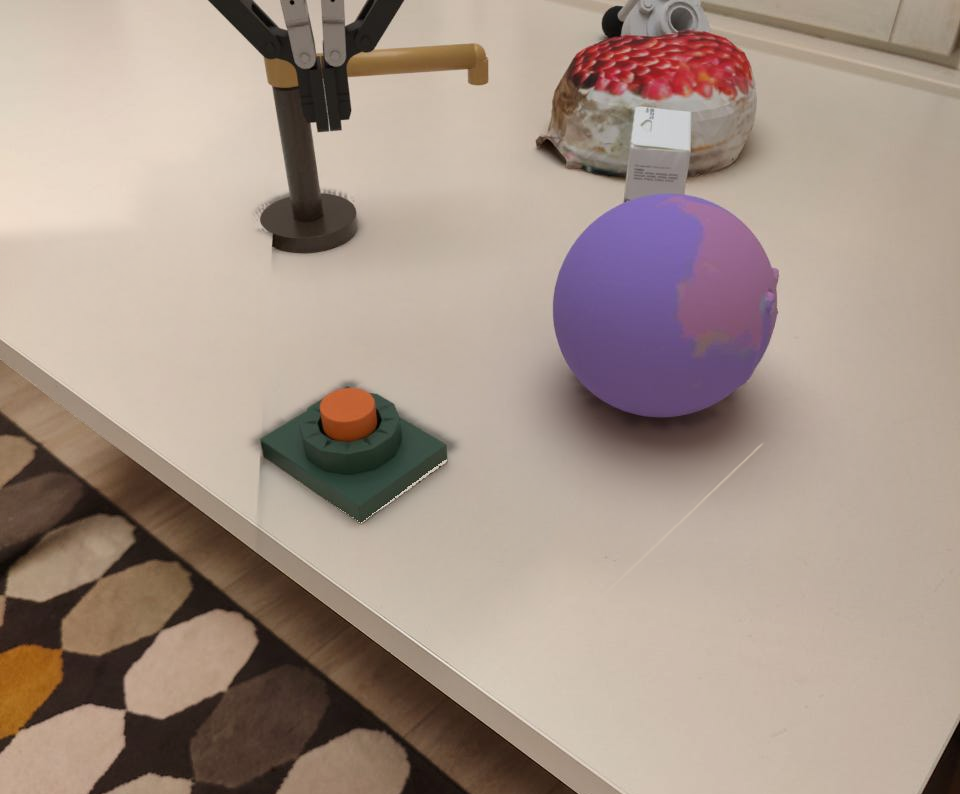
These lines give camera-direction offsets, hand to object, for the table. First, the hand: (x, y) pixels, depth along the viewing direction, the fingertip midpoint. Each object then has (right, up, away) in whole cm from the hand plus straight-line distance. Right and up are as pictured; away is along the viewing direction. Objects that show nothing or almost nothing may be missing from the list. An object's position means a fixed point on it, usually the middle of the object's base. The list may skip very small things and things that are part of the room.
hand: (329, 126), depth 56 cm
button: (0, -17, +7) cm, 19 cm away
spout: (0, +13, +26) cm, 29 cm away
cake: (+26, +17, +48) cm, 58 cm away
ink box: (+24, -1, +29) cm, 37 cm away
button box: (0, -20, +9) cm, 22 cm away
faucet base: (-7, +3, +33) cm, 34 cm away
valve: (+29, +32, +65) cm, 78 cm away
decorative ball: (+22, -15, +14) cm, 30 cm away
